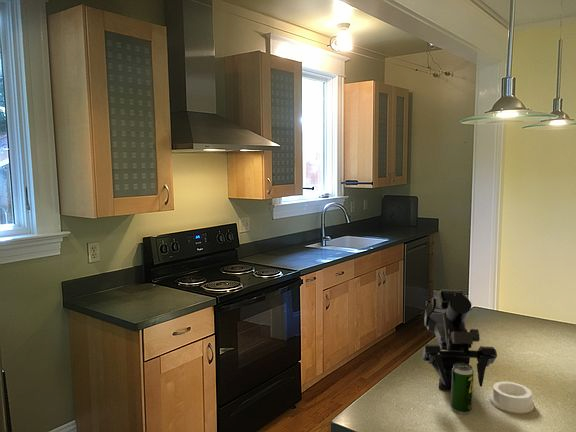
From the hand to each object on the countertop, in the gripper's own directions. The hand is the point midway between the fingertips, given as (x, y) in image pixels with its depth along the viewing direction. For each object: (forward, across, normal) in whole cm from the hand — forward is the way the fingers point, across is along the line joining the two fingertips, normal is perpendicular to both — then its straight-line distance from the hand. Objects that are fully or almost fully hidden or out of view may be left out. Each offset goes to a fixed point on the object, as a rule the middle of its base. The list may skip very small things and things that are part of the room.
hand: (463, 385), depth 126 cm
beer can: (+5, 0, +6) cm, 8 cm away
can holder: (+1, +14, +9) cm, 17 cm away
